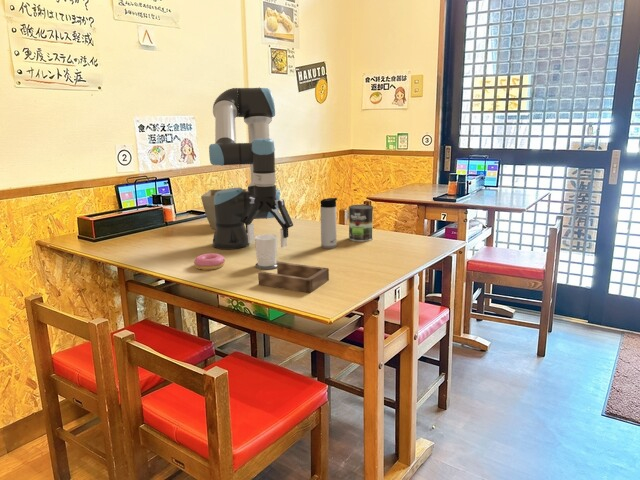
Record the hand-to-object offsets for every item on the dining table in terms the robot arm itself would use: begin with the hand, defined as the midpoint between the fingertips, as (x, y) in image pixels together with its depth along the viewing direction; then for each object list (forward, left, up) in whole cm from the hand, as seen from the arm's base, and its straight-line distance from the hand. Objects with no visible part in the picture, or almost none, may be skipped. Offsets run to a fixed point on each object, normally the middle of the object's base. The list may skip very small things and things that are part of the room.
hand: (267, 244), depth 174 cm
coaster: (0, 0, -8) cm, 8 cm away
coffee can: (+16, +49, -8) cm, 52 cm away
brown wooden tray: (+17, -12, -8) cm, 23 cm away
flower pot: (-53, +47, -8) cm, 71 cm away
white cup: (0, 0, -7) cm, 7 cm away
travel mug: (+9, +32, -8) cm, 34 cm away
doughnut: (-19, -9, -8) cm, 23 cm away
